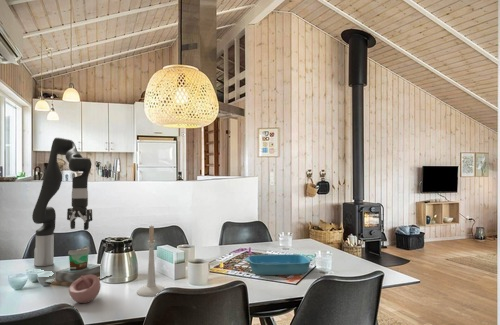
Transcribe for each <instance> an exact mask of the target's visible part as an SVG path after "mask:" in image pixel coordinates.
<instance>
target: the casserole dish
mask: <svg viewBox="0 0 500 325" xmlns="http://www.w3.org/2000/svg"><path fill="white" fill-rule="evenodd" d="M244 260H245V262H246V263H248V264H249V266H250V268H251V271H252V272H253V273H254V274H255V275H257V276H281V275H282V276H288V275H289V276H291V275H294V276H295V275H303V274H306V273H307V272H308V270H309V267H310V264H311V262H312V261H313V259H312V258H311V257H310V256H305V255H304V254H297V253H296V254H292V253H291V254H288V253H287V254H285V253H284V254H281V253H280V254H253V255H249V256H248V257H246V258H244Z"/></svg>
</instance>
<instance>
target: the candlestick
mask: <svg viewBox="0 0 500 325" xmlns="http://www.w3.org/2000/svg"><path fill="white" fill-rule="evenodd" d="M148 229H149V230H148V231H149V232H148V236H149V238H148V239H149V240H147V243H148V246H149V249H148V266H147V267H148V268H147V283H146V285H143V286H141V287H139V288H138V289H136V295H138V296H139V297H148V298H149V297H156V294H157V293H159V292H160V291H161V290H163V289H165V288H166V287H165V286H163V285H160V284H157V283H156V270H155V269H156V267H155V248H154V246H155V242H156V240H155V237H154V236H155V231H154V230H155V226H154V225H150V226H149V228H148Z"/></svg>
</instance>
